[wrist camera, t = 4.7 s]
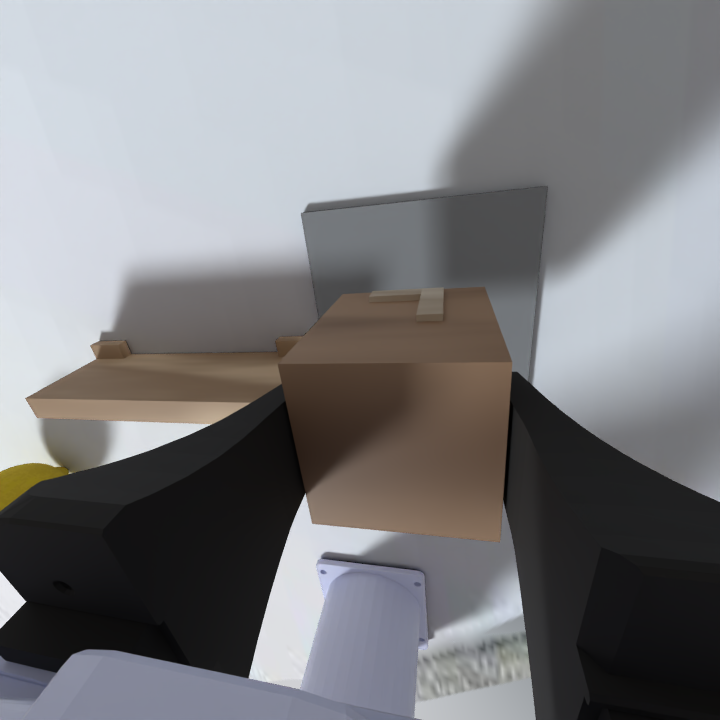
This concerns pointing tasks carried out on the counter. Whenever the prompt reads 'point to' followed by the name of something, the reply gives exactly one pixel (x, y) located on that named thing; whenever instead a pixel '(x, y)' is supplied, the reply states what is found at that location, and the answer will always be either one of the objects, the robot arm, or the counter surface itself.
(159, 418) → the screen
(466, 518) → the letter block
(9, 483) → the lemon
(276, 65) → the counter surface
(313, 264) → the mat
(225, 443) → the robot arm
